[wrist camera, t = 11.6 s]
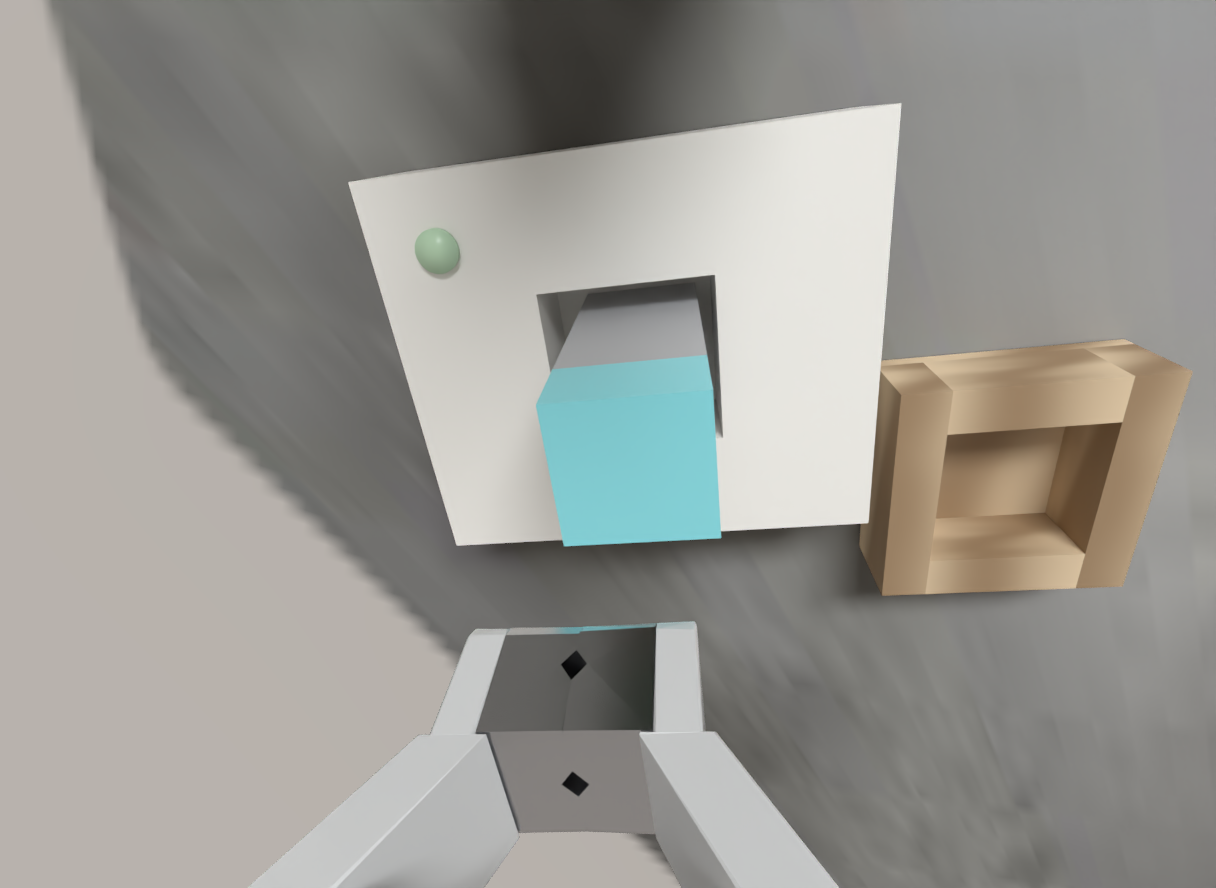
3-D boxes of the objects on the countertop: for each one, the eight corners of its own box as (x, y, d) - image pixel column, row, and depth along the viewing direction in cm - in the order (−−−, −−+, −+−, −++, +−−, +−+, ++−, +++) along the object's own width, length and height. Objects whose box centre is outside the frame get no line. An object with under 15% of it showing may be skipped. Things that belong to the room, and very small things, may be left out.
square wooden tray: (1124, 339, 20) (1192, 371, 18) (1072, 535, 24) (1122, 586, 21) (872, 361, 21) (901, 395, 19) (859, 545, 25) (881, 595, 22)
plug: (694, 281, 20) (713, 389, 12) (701, 382, 21) (720, 538, 13) (587, 293, 20) (535, 404, 12) (601, 391, 22) (564, 546, 14)
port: (855, 107, 18) (904, 103, 14) (838, 462, 23) (870, 527, 20) (405, 171, 20) (344, 183, 16) (486, 486, 25) (454, 549, 21)
